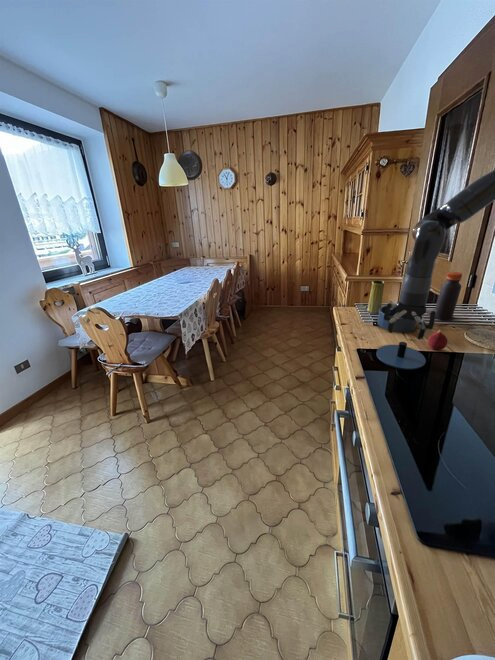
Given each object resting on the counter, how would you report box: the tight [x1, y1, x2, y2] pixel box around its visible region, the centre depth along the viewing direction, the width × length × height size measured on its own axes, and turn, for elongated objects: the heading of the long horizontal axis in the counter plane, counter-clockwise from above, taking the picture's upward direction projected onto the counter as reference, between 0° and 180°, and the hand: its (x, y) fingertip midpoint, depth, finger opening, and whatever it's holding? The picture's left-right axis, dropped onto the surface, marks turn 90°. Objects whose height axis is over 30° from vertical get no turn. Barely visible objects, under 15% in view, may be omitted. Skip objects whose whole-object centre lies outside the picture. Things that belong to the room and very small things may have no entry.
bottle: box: [435, 271, 463, 322], centre depth 119 cm, size 7×7×20 cm
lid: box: [375, 341, 427, 371], centre depth 97 cm, size 15×15×6 cm
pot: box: [377, 304, 418, 333], centre depth 119 cm, size 14×20×6 cm
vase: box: [366, 279, 385, 314], centre depth 131 cm, size 6×6×14 cm
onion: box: [427, 329, 449, 351], centre depth 100 cm, size 6×6×8 cm
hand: (404, 335), depth 94 cm, fingers open, 8 cm apart
